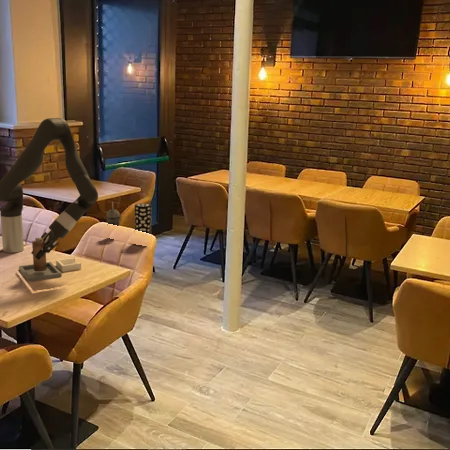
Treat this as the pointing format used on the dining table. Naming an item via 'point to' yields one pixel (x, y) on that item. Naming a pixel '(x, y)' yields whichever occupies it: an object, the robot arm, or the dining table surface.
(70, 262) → the caddy slot
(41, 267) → the pepper mill
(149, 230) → the spotted tube
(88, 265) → the dining table surface
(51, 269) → the serving tray
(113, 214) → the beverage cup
